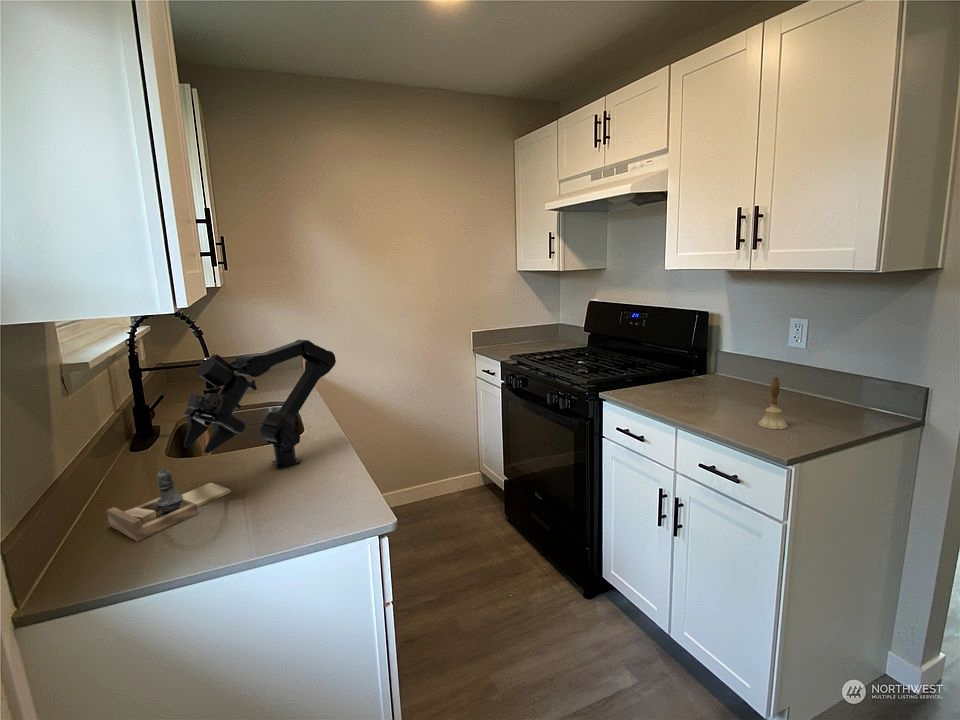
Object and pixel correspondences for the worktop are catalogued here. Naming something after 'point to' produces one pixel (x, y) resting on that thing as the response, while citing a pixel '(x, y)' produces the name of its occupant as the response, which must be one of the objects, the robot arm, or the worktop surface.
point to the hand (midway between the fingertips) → (195, 449)
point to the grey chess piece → (167, 494)
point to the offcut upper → (143, 515)
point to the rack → (138, 531)
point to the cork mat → (204, 494)
